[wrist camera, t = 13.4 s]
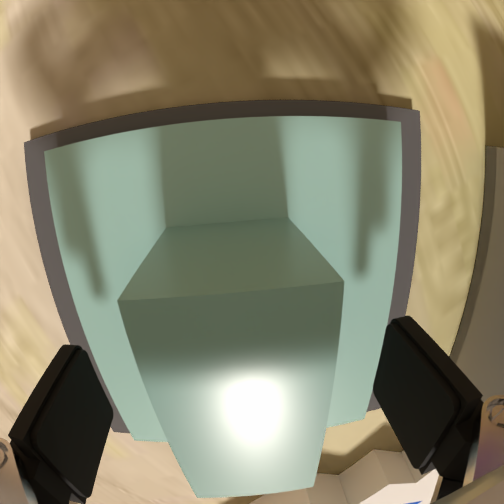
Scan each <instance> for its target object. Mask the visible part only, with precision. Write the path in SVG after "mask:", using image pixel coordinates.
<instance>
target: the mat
mask: <svg viewBox="0 0 504 504" xmlns="http://www.w3.org/2000/svg"><path fill="white" fill-rule="evenodd" d="M269 116H327V117H350V118H365V119H378V120H388V121H398V122H401V136H402V194H401V216H400V230H399V243H398V253H397V262H396V271H395V279H394V286H393V293H392V300H391V306H390V312H389V318H388V323H387V325H388V324H390V322H391V320H392V319H394V318H399V317H404V316H405V314H406V309H407V304H408V298H409V293H410V287H411V280H412V274H413V267H414V259H415V251H416V243H417V233H418V222H419V208H420V188H421V129H420V111H418V110H412V109H405V108H398V107H391V106H383V105H374V104H364V103H352V102H338V101H318V100H255V101H235V102H220V103H208V104H198V105H189V106H181V107H173V108H166V109H159V110H153V111H147V112H141V113H135V114H130V115H125V116H120V117H115V118H110V119H105V120H101V121H97V122H92V123H88V124H84V125H80V126H77V127H73V128H69V129H66V130H62V131H59V132H55V133H52V134H49V135H45V136H42V137H39V138H36V139H33V140H30V141H27V142H24V150H25V162H26V172H27V180H28V188H29V195H30V202H31V208H32V214H33V219H34V224H35V229H36V234H37V239H38V243H39V247H40V252H41V256H42V260H43V264H44V267H45V271H46V275H47V278H48V282H49V285H50V288H51V291H52V295H53V298H54V301H55V304H56V307H57V310H58V313H59V316H60V318H61V321H62V324H63V327H64V329H65V332H66V335H67V337H68V340H69V342H70V345H79V346H81V347H82V349H83V350H85V351H86V352H87V353H88V356H89V358H90V360H91V363H92V365H93V368H94V370H95V372H96V374H97V377H98V379H99V381H100V383H101V385H102V388H103V390H104V392H105V394H106V396H107V398H108V400H109V402H110V404H111V406H112V408H113V420H112V423H111V428H112V430H113V431H114V432H121V433H130V432H129V430H128V428H127V426H126V424H125V422H124V421H123V419H122V417H121V415H120V413H119V411H118V409H117V407H116V405H115V403H114V401H113V399H112V397H111V395H110V393H109V391H108V388H107V386H106V384H105V382H104V380H103V377H102V375H101V373H100V371H99V368H98V366H97V364H96V361H95V359H94V356H93V354H92V351H91V349H90V346H89V344H88V341H87V338H86V336H85V333H84V330H83V327H82V325H81V322H80V319H79V316H78V313H77V310H76V307H75V304H74V300H73V297H72V294H71V291H70V287H69V284H68V280H67V277H66V273H65V269H64V265H63V261H62V257H61V253H60V249H59V244H58V240H57V235H56V230H55V225H54V220H53V215H52V209H51V203H50V197H49V190H48V182H47V174H46V165H45V155H44V151H47V150H51V149H54V148H58V147H62V146H65V145H69V144H73V143H77V142H81V141H85V140H89V139H94V138H98V137H103V136H108V135H112V134H117V133H122V132H128V131H133V130H139V129H145V128H151V127H158V126H164V125H172V124H179V123H188V122H196V121H206V120H217V119H230V118H246V117H269ZM379 408H381V407H380V405H379V403H378V401H377V399H376V397H375V396H374V393H373V390H372V394H371V397H370V401H369V405H368V408H367V411H366V412H368V411H371V410H375V409H379Z"/></svg>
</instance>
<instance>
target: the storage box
mask: <svg viewBox="0 0 504 504" xmlns="http://www.w3.org/2000/svg"><path fill="white" fill-rule="evenodd" d="M450 358H451V360H452V361H453V362H454V363H455V364H456V365H457V366H458V367H459V368H460V370H461V371H462V372H463V373H464V374H465V375H466V376H467V377H468V379H469V380H470V381H471V382H472V383H473V384H474V385H475V387H476V388H477V389H478V390H479V391H480V392H481V394H482V395H483V396H482V398H481V400H482V401H483V402H485V401H486V399H488V398H489V397H491V396H494V395H504V148H501V147H493V146H486V171H485V191H484V204H483V214H482V223H481V231H480V238H479V245H478V251H477V257H476V262H475V267H474V272H473V277H472V282H471V286H470V290H469V295H468V299H467V302H466V306H465V310H464V314H463V317H462V321H461V324H460V327H459V331H458V334H457V337H456V340H455V343H454V346H453V349H452V352H451V355H450Z"/></svg>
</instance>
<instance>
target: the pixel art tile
mask: <svg viewBox="0 0 504 504" xmlns="http://www.w3.org/2000/svg"><path fill="white" fill-rule="evenodd" d="M438 476H439V474H438V472H437V470H436V469H434V470H432V471H430V472H428V473H425V474H423V475H421V473H420V471H419V469H415V468H413V466H412V465H411V463H410V461H409V459H408V457H407V455H406V453H405V451H404V450H403V451H402V452H393V451H384V450H377V449H373V450H372V451H370V452H369V453H368V454H367V455H365V456H364V457H363V458H361V459H360V460H359V461H357V462H356V463H355V464H353V465H352V466H350V467H349V468H348V469H346V470H345V471H343V472H342V473H340V474H339V475H333V474H323V473H317V474H316V478H315V482H314V486H313V487H310V488H304V489H299V490H292V491H286V492H279V493H271V494H265V495H263V496H261V497H260V498H258V499H256V500H254V501H252V502H251V503H249V504H430V502H431V499H432V496H433V493H434V490H435V486H436V483H437V480H438Z"/></svg>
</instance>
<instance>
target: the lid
mask: <svg viewBox="0 0 504 504" xmlns="http://www.w3.org/2000/svg"><path fill="white" fill-rule="evenodd" d="M44 155H45V165H46V174H47V182H48V190H49V197H50V203H51V209H52V215H53V220H54V225H55V230H56V235H57V240H58V244H59V249H60V253H61V257H62V261H63V265H64V269H65V273H66V277H67V280H68V284H69V287H70V291H71V294H72V297H73V300H74V304H75V307H76V310H77V313H78V316H79V319H80V322H81V325H82V327H83V330H84V333H85V336H86V338H87V341H88V344H89V346H90V349H91V351H92V354H93V356H94V359H95V361H96V364H97V366H98V368H99V371H100V373H101V375H102V377H103V380H104V382H105V384H106V386H107V388H108V391H109V393H110V395H111V397H112V399H113V401H114V403H115V405H116V407H117V409H118V411H119V413H120V415H121V417H122V419H123V421H124V422H125V424H126V426H127V428H128V430H129V432H130V433H131V435H132V437H133V439H134V440H137V441H154V442H168V443H169V445H170V447H171V449H172V451H173V453H174V455H175V457H176V459H177V461H178V463H179V465H180V467H181V469H182V471H183V473H184V475H185V477H186V479H187V481H188V482H189V484H190V486H191V488H192V490H193V491H194V493H195V495H196V497H197V498H216V497H239V496H252V495H262V494H271V493H279V492H286V491H292V490H299V489H304V488H310V487H313V486H314V482H315V478H316V474H317V469H318V465H319V461H320V456H321V451H322V446H323V442H324V437H325V431H326V428H328V427H333V426H337V425H342V424H346V423H350V422H354V421H358V420H362V419H364V418H365V415H366V411H367V408H368V405H369V401H370V397H371V394H372V390H373V383H374V379H375V375H376V371H377V367H378V363H379V358H380V354H381V349H382V345H383V340H384V335H385V330H386V326H387V323H388V318H389V312H390V306H391V300H392V293H393V286H394V279H395V271H396V262H397V253H398V243H399V230H400V216H401V194H402V136H401V122H398V121H388V120H378V119H365V118H350V117H327V116H269V117H246V118H230V119H217V120H206V121H196V122H188V123H179V124H172V125H164V126H158V127H151V128H145V129H139V130H133V131H128V132H122V133H117V134H112V135H108V136H103V137H98V138H94V139H89V140H85V141H81V142H77V143H73V144H69V145H65V146H62V147H58V148H54V149H51V150H47V151H44Z"/></svg>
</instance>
